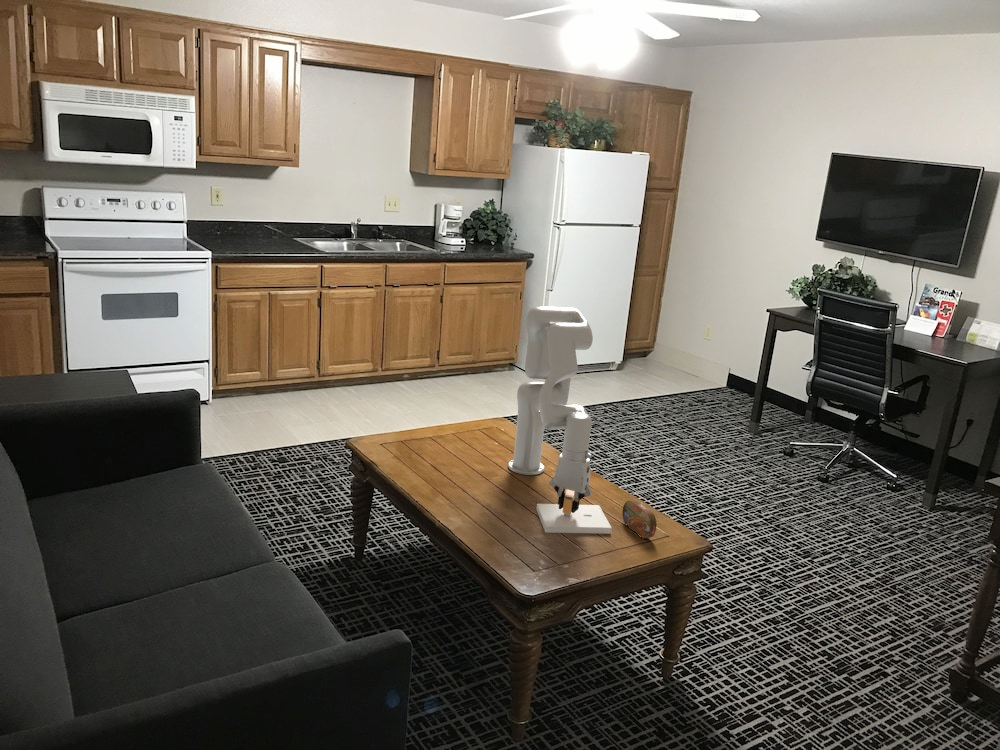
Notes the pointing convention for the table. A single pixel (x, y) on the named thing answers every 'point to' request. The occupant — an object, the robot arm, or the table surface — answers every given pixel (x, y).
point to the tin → (639, 519)
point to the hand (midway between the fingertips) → (567, 508)
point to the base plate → (573, 519)
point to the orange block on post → (568, 501)
